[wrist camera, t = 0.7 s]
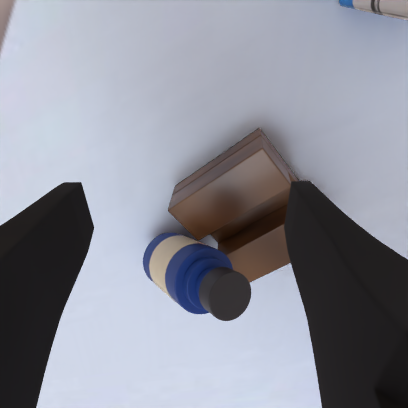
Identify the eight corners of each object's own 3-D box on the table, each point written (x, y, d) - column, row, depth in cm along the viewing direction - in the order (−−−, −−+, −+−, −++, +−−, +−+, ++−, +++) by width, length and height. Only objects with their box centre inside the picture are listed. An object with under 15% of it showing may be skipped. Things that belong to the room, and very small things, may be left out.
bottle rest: (241, 257, 26) (242, 286, 24) (174, 186, 23) (167, 210, 21) (323, 214, 24) (334, 242, 21) (259, 127, 21) (262, 147, 18)
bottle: (174, 270, 28) (153, 372, 21) (140, 239, 26) (103, 337, 19) (259, 223, 25) (269, 325, 17) (225, 184, 23) (221, 278, 16)
